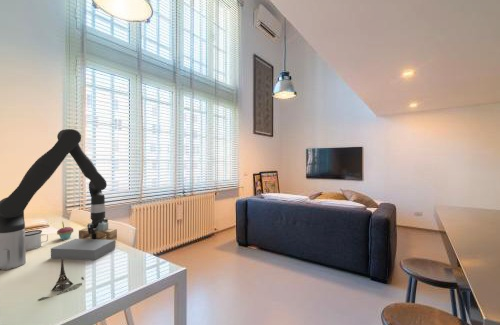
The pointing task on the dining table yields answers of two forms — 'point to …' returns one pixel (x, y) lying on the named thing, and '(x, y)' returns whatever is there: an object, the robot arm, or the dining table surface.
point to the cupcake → (65, 232)
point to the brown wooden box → (99, 234)
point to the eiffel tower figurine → (63, 283)
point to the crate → (102, 226)
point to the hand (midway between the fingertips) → (98, 238)
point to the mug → (33, 239)
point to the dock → (83, 249)
